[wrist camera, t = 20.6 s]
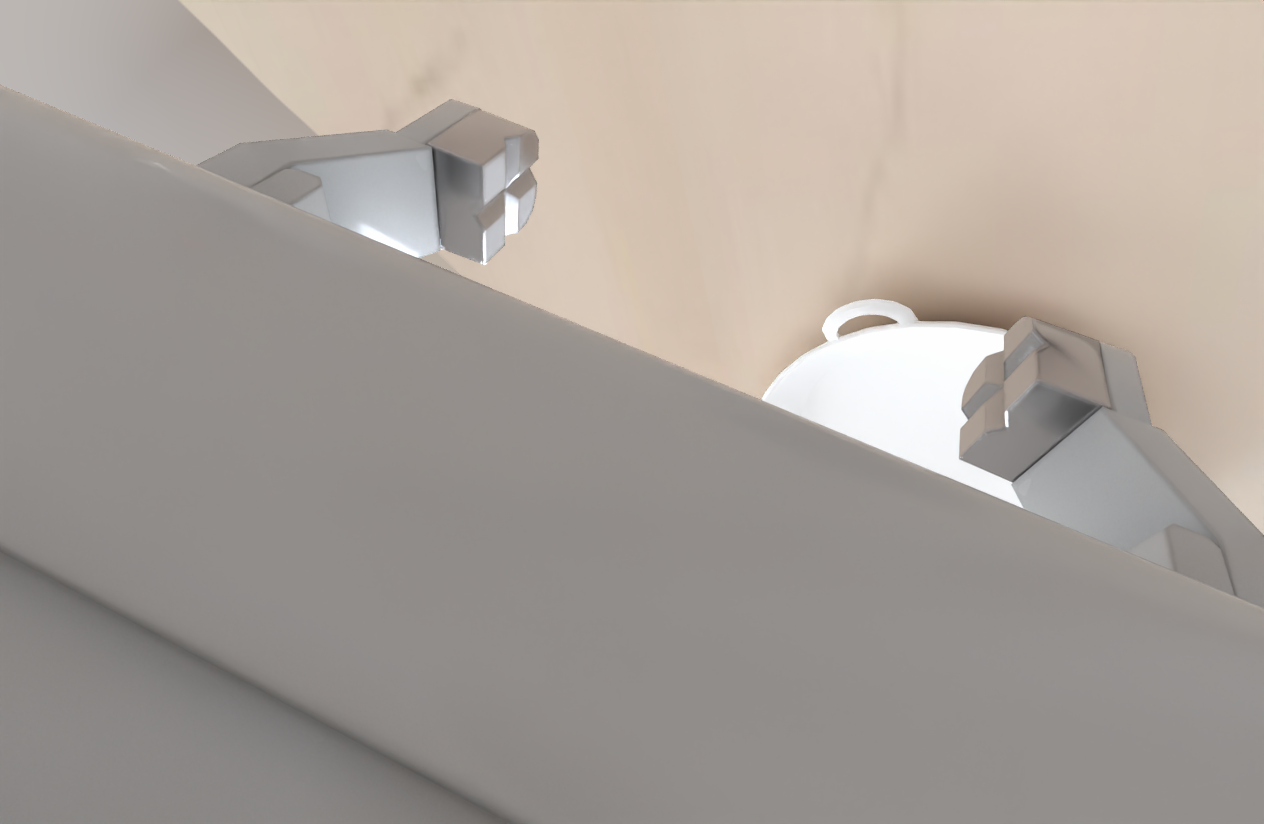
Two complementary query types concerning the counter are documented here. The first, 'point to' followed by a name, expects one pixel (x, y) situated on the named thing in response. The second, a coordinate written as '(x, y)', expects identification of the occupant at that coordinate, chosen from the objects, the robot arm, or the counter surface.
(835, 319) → the pan
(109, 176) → the robot arm
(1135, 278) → the counter surface
